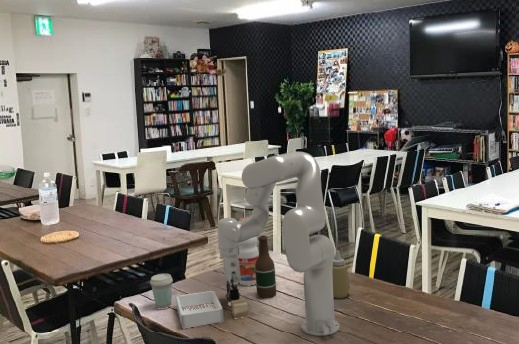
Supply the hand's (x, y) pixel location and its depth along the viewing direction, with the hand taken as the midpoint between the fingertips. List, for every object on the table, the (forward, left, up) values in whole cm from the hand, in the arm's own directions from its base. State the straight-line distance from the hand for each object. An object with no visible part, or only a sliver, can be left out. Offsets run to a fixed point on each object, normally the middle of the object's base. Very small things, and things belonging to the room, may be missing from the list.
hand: (233, 295), depth 204 cm
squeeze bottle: (-9, -40, -3) cm, 41 cm away
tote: (-6, +14, -3) cm, 16 cm away
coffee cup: (+8, +26, -3) cm, 27 cm away
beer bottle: (+3, -14, -3) cm, 15 cm away
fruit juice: (+20, -11, -3) cm, 23 cm away
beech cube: (-12, 0, -3) cm, 12 cm away
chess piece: (0, 0, -3) cm, 3 cm away
